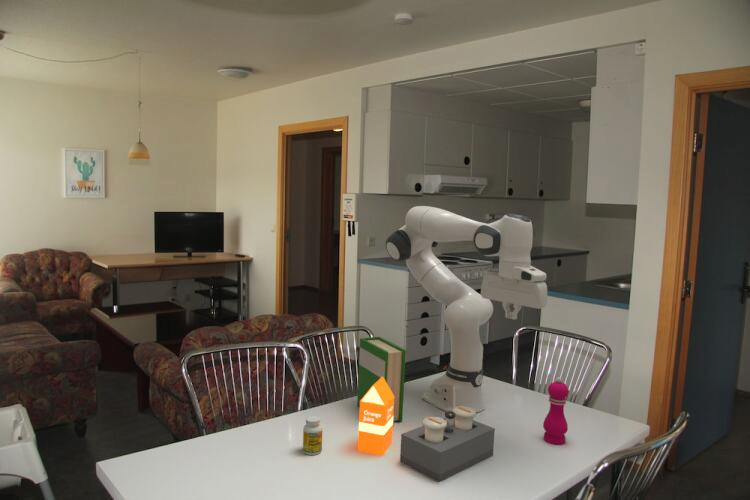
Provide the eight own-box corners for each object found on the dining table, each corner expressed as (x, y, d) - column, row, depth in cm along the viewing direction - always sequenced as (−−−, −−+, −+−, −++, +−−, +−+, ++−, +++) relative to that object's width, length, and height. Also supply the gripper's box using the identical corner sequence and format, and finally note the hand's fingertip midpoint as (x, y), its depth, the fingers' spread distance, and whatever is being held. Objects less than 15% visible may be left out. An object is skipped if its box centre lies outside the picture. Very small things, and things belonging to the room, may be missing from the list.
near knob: (416, 455, 154) (418, 419, 153) (431, 449, 159) (433, 413, 158) (434, 464, 150) (436, 427, 149) (449, 457, 154) (451, 421, 153)
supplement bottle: (317, 445, 164) (318, 413, 163) (324, 453, 159) (325, 420, 158) (299, 449, 161) (300, 416, 160) (306, 457, 156) (307, 423, 155)
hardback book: (402, 422, 183) (405, 350, 181) (382, 425, 180) (385, 352, 177) (376, 403, 199) (379, 336, 196) (357, 406, 195) (360, 338, 193)
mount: (399, 461, 156) (401, 434, 155) (454, 438, 172) (456, 413, 172) (439, 482, 146) (440, 452, 145) (493, 455, 162) (494, 428, 162)
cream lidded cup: (446, 442, 163) (448, 408, 162) (460, 437, 168) (462, 403, 167) (464, 450, 159) (466, 415, 158) (477, 444, 163) (480, 410, 162)
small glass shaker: (441, 430, 158) (442, 412, 158) (448, 428, 160) (449, 410, 160) (449, 434, 156) (451, 416, 156) (456, 431, 158) (457, 413, 158)
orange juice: (392, 443, 167) (395, 377, 165) (383, 455, 159) (386, 387, 157) (367, 438, 170) (370, 373, 168) (357, 450, 162) (360, 382, 160)
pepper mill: (568, 446, 170) (573, 382, 168) (543, 443, 172) (548, 379, 170) (565, 436, 177) (570, 375, 175) (541, 434, 179) (545, 372, 177)
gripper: (477, 267, 167) (475, 313, 169) (540, 276, 153) (536, 326, 154) (490, 266, 172) (487, 310, 173) (552, 275, 157) (548, 324, 158)
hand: (511, 318), depth 163 cm, fingers closed
